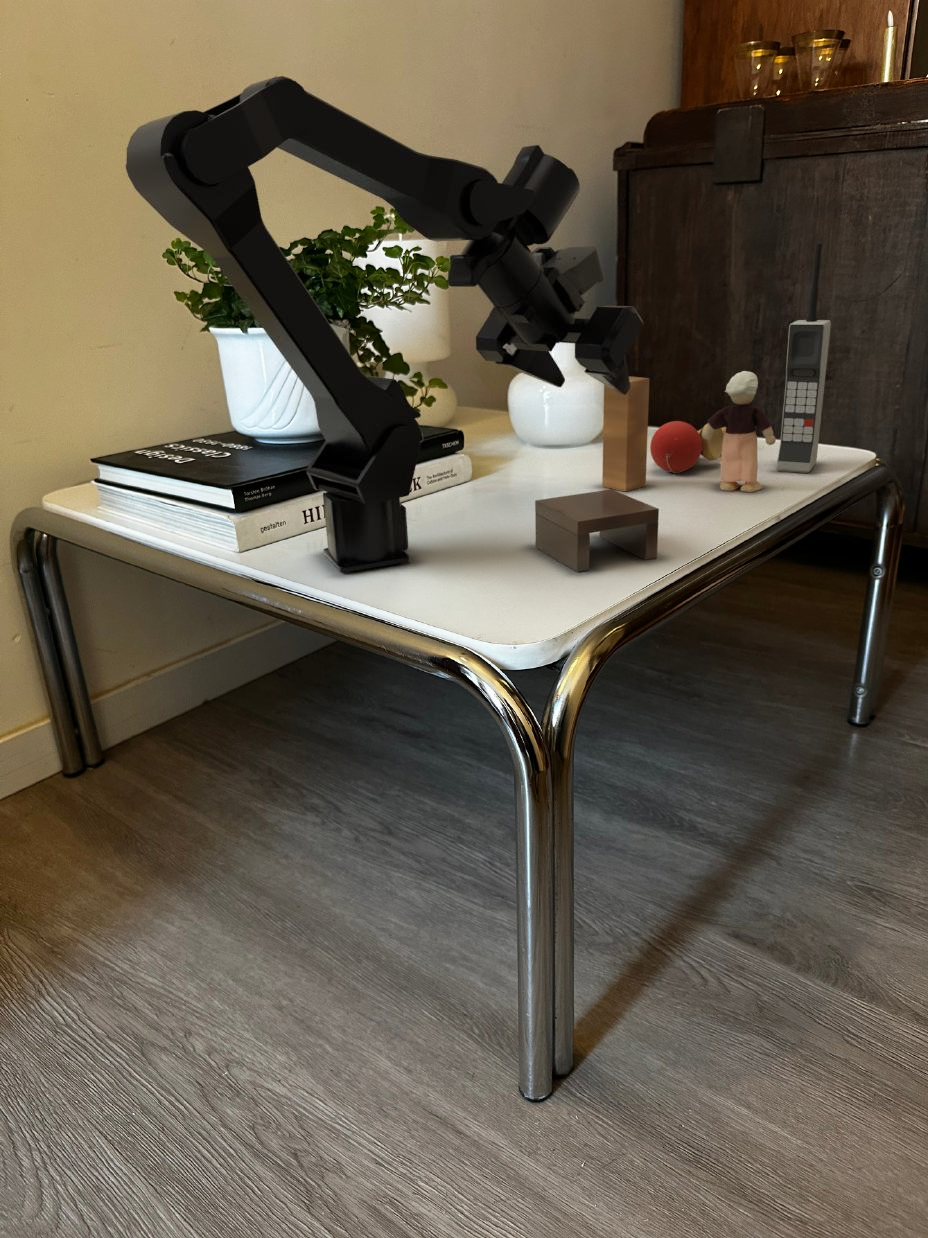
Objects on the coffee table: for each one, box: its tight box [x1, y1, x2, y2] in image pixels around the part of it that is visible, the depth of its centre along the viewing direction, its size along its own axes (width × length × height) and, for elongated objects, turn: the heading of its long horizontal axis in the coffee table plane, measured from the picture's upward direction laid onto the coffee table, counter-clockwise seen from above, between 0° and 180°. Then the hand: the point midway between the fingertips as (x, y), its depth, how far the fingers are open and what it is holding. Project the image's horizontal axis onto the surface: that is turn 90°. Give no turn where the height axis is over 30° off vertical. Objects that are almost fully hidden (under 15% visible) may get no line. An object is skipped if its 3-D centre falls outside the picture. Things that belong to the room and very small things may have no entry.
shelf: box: [534, 488, 660, 573], centre depth 83 cm, size 8×8×4 cm
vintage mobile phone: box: [776, 242, 832, 474], centre depth 106 cm, size 4×5×25 cm
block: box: [601, 375, 650, 493], centre depth 104 cm, size 4×4×12 cm
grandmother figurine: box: [702, 370, 777, 493], centre depth 101 cm, size 8×4×13 cm, turn 74°
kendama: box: [649, 420, 726, 474], centre depth 115 cm, size 8×6×18 cm
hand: (593, 387), depth 98 cm, fingers open, 9 cm apart
